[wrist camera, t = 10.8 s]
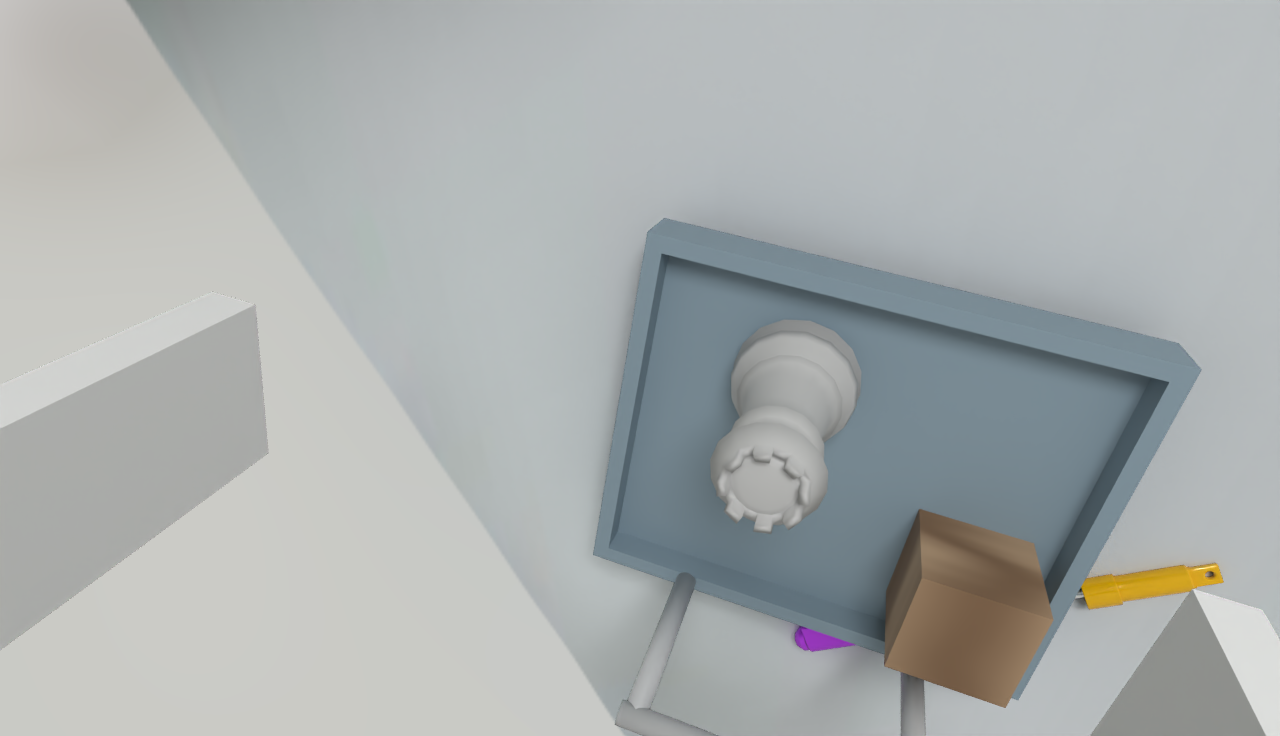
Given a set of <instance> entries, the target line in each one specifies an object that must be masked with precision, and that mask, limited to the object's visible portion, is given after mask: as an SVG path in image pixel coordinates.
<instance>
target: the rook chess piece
mask: <svg viewBox="0 0 1280 736" xmlns="http://www.w3.org/2000/svg"><path fill="white" fill-rule="evenodd" d="M860 389H861V369H860V367H859V364H858V362H857V359H856V357H855V354H854V352H853V349H852V348H851V347H850V346H849V345H848V344H847V343H846V342H845V341H844V340H843V339H842V338H841V337H840V336H839V335H838V334H837V333H836V332H835V331H833V330H831V329H828V328H826V327H824V326H821V325H819V324H817V323H814V322H812V321H805V320H781V321H778V322H775V323H773V324H770V325H767V326H764V327H761V328H760V329H758V330H757V331H756V332H755V333H754V334H753V335H752V336H750V337H749V338H748V339H747V340H746V341H745V342H744V343H743V344H742V346H741V349H740V351H739V353H738V355H737V358H736V360H735V362H734V368H733V371H732V373H731V397H732V401H733V403H734V406H735V408H736V410H737V412H738V415H739V417H740V418H739V419H738V420H737V421H735V423H734V425H733V428H732V430H731V432H729V433H728V434H727V435H726V436H724V437H723V438H722V439H721V440H720V441H718V443H717V446H716V448H715V450H714V452H713V454H712V456H711V459H710V469H711V480H712V483H713V485H714V487H715V489H716V497H718V496H719V497H720V498H721V499H722V500H723V501H724V502H725V503H726V506H725V509H724V512H725V513H726V514H727V515H728V516H729V517H730V518H731V519H732V520H733V521H734V522H735V523H736V524H737V523H738V521H739V520H740V519H741V518H742V516H743V517H745V518H747V519H749V520H752V521H754V522H755V526H754V530H753V532H759V533H767V534H771V533H772V529H773V525H783V524H784V525H785V526H786V528H787V529H788V530H790V529H791V528H793V527H794V526H796V525H797V524H798V523H800V522H801V521H802V519H804V518H805V517H806V516H808V515H809V514H811V513H812V512H814V511H815V510H817V509H818V507H819V505H820V503H821V502H822V500H823V498H824V496H825V495H826V493H827V486H828V470H827V467H826V465H825V463H824V442H826V441H827V440H828V439H830V438H831V437H832V436H834V435H835V434H836V433H838V432H839V431H840V430H842V429H843V428H844V427H845V426H846V424H847V422H848V421H849V419H850V417H851V415H852V413H853V412H854V410H855V408H856V406H857V400H858V398H859V396H860Z"/></svg>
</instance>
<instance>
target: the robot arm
mask: <svg viewBox="0 0 1280 736" xmlns="http://www.w3.org/2000/svg"><path fill="white" fill-rule="evenodd" d="M267 454H268V442H267V431H266V419H265V408H264V397H263V386H262V375H261V363H260V351H259V339H258V329H257V317H256V307H255V304H252V303H249V302H246V301H242V300H239V299H236V298H232V297H229V296H226V295H222V294H219V293H216V292H210V293H208V294H206V295H203V296H201V297H199V298H197V299H194V300H192V301H190V302H187V303H185V304H183V305H180V306H178V307H176V308H174V309H172V310H169V311H167V312H164V313H162V314H160V315H157V316H156V317H153V318H151V319H148V320H146V321H144V322H141V323H139V324H137V325H135V326H133V327H130V328H128V329H126V330H123V331H121V332H119V333H116V334H114V335H112V336H110V337H108V338H105V339H103V340H100V341H99V342H96V343H93V344H91V345H89V346H87V347H84V348H82V349H80V350H78V351H75V352H73V353H71V354H68V355H66V356H64V357H61V358H59V359H57V360H55V361H52V362H50V363H48V364H45V365H44V366H41V367H39V368H36V369H34V370H32V371H29V372H27V373H25V374H23V375H20V376H18V377H16V378H14V379H11V380H9V381H7V382H4V383H2V384H0V650H1V649H2V648H4V647H5V646H7V645H8V644H9V643H11V642H12V641H13V640H15V639H16V638H17V637H19V636H20V635H22V634H23V633H24V632H26V631H27V630H28V629H30V628H31V627H32V626H34V625H35V624H37V623H38V622H39V621H41V620H42V619H43V618H45V617H46V616H47V615H49V614H50V613H52V611H54V610H56V609H57V608H58V607H60V606H61V605H62V604H64V603H65V602H67V601H68V600H69V599H71V598H72V597H73V596H75V595H76V594H77V593H79V592H80V591H81V590H83V589H84V588H86V587H87V586H88V585H90V584H91V583H92V582H94V581H95V580H96V579H98V578H99V577H101V576H102V575H103V574H104V573H106V572H107V571H109V570H110V569H111V568H113V567H114V566H115V565H117V564H118V563H120V562H121V561H122V560H124V559H125V558H126V557H128V556H129V555H131V554H132V553H133V552H135V551H136V550H137V549H139V548H140V547H141V546H143V545H144V544H145V543H147V542H148V541H149V540H151V539H152V538H154V537H155V536H156V535H158V534H159V533H160V532H162V531H163V530H165V529H166V528H167V527H168V526H170V525H171V524H173V523H174V522H175V521H177V520H178V519H179V518H181V517H182V516H184V515H185V514H186V513H188V512H189V511H190V510H192V509H193V508H194V507H196V506H197V505H198V504H200V503H201V502H203V501H204V500H205V499H207V498H208V497H209V496H211V495H212V494H214V493H215V492H216V491H217V490H219V489H220V488H222V487H223V486H224V485H226V484H227V483H228V482H230V481H231V480H233V479H234V478H235V477H237V476H238V475H239V474H241V473H242V472H243V471H245V470H246V469H248V468H249V467H250V466H252V465H253V464H254V463H256V462H257V461H258V460H260V459H261V458H263V457H264V456H265V455H267ZM1091 736H1280V639H1279V637H1278V636H1277V634H1276V632H1275V631H1274V629H1273V627H1272V626H1271V624H1270V622H1269V621H1268V619H1267V617H1266V616H1265V614H1264V612H1263V611H1262V610H1261V609H1258V608H1255V607H1251V606H1248V605H1245V604H1241V603H1238V602H1235V601H1231V600H1228V599H1225V598H1222V597H1218V596H1215V595H1212V594H1208V593H1205V592H1202V591H1198V590H1195V589H1192V590H1191V591H1190V593H1189V594H1188V596H1187V597H1186V598H1185V600H1184V601H1183V603H1182V604H1181V606H1180V607H1179V608H1178V610H1177V611H1176V613H1175V614H1174V616H1173V617H1172V619H1171V620H1170V621H1169V623H1168V624H1167V626H1166V627H1165V629H1164V630H1163V632H1162V633H1161V634H1160V636H1159V637H1158V639H1157V640H1156V642H1155V643H1154V645H1153V646H1152V647H1151V649H1150V650H1149V652H1148V653H1147V655H1146V656H1145V658H1144V659H1143V660H1142V662H1141V663H1140V665H1139V666H1138V668H1137V669H1136V670H1135V672H1134V673H1133V675H1132V676H1131V678H1130V679H1129V681H1128V682H1127V683H1126V685H1125V686H1124V688H1123V689H1122V691H1121V692H1120V694H1119V695H1118V696H1117V698H1116V699H1115V701H1114V702H1113V704H1112V705H1111V707H1110V708H1109V709H1108V711H1107V712H1106V714H1105V715H1104V717H1103V718H1102V720H1101V721H1100V722H1099V724H1098V725H1097V727H1096V728H1095V730H1094V731H1093V732H1092V734H1091Z"/></svg>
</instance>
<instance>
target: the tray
mask: <svg viewBox="0 0 1280 736" xmlns="http://www.w3.org/2000/svg"><path fill="white" fill-rule="evenodd" d="M781 320H805V321H812V322H814V323H817V324H819V325H821V326H824V327H826V328H828V329H831V330H833V331H835V332H836V333H837V334H838V335H839V336H840V337H841V338H842V339H843V340H844V341H845V342H846V343H847V344H848V345H849V346H850V347H851V348H852V349H853V352H854V354H855V357H856V359H857V362H858V364H859V367H860V369H861V389H860V396H859V398H858V400H857V406H856V408H855V410H854V412H853V413H852V415H851V417H850V419H849V421H848V422H847V424H846V426H845V427H844V428H843V429H842V430H840V431H839V432H838V433H836V434H835V435H834V436H832V437H831V438H830V439H828V440H827V441H826V442H824V463H825V465H826V467H827V470H828V486H827V493H826V495H825V496H824V498H823V500H822V502H821V503H820V505H819V507H818V509H817V510H815V511H814V512H812V513H811V514H809V515H808V516H806V517H805V518H804V519H802V521H801V522H800V523H798V524H797V525H796V526H794V527H793V528H791V529H790V530H788V529H787V528H786V526H785V525H784V524H783V525H773V529H772V533H771V534H767V533H759V532H753V530H754V526H755V522H754V521H752V520H749V519H747V518H745V517H743V516H742V518H741V519H740V520H739V521H738V523H737V524H736V523H735V522H734V521H733V520H732V519H731V518H730V517H729V516H728V515H727V514H726V513H725V512H724V509H725V506H726V503H725V502H724V501H723V500H722V499H721V498H720V497H719V496H718V497H716V489H715V487H714V485H713V483H712V480H711V469H710V459H711V456H712V454H713V452H714V450H715V448H716V446H717V443H718V441H720V440H721V439H722V438H723V437H724V436H726V435H727V434H728V433H729V432H731V430H732V428H733V425H734V423H735V421H737V420H738V419H739V418H740V417H739V415H738V412H737V410H736V408H735V406H734V403H733V401H732V397H731V373H732V371H733V368H734V362H735V360H736V358H737V355H738V353H739V351H740V349H741V346H742V344H743V343H744V342H745V341H746V340H747V339H748V338H749V337H750V336H752V335H753V334H754V333H755V332H756V331H757V330H758V329H760V328H761V327H764V326H767V325H770V324H773V323H775V322H778V321H781ZM1200 372H1201V368H1200V367H1199V366H1198V365H1197V364H1196V363H1195V361H1194V360H1193V359H1192V358H1191V357H1190V356H1189V355H1188V353H1187V352H1186V351H1185V350H1184V349H1183V348H1182V347H1181V345H1180V344H1179V343H1175V342H1171V341H1167V340H1163V339H1159V338H1155V337H1151V336H1147V335H1142V334H1138V333H1134V332H1130V331H1126V330H1122V329H1118V328H1114V327H1110V326H1105V325H1101V324H1097V323H1093V322H1089V321H1085V320H1081V319H1077V318H1073V317H1069V316H1064V315H1060V314H1056V313H1052V312H1048V311H1044V310H1040V309H1036V308H1032V307H1027V306H1023V305H1019V304H1015V303H1011V302H1007V301H1003V300H999V299H995V298H991V297H986V296H982V295H978V294H974V293H970V292H966V291H962V290H958V289H954V288H949V287H945V286H941V285H937V284H933V283H929V282H925V281H921V280H917V279H913V278H908V277H904V276H900V275H896V274H892V273H888V272H884V271H880V270H876V269H871V268H867V267H863V266H859V265H855V264H851V263H847V262H843V261H839V260H835V259H830V258H826V257H822V256H818V255H814V254H810V253H806V252H802V251H798V250H793V249H789V248H785V247H781V246H777V245H773V244H769V243H765V242H761V241H757V240H752V239H748V238H744V237H740V236H736V235H732V234H728V233H724V232H720V231H715V230H711V229H707V228H703V227H699V226H695V225H691V224H687V223H683V222H679V221H674V220H670V219H666V218H664V219H663V220H661V221H660V222H659V223H658V224H657V225H655V226H654V227H653V228H652V229H650V230H649V231H648V232H647V238H646V244H645V250H644V256H643V261H642V267H641V273H640V279H639V285H638V291H637V297H636V303H635V309H634V315H633V321H632V327H631V333H630V339H629V345H628V351H627V356H626V362H625V368H624V374H623V380H622V386H621V392H620V398H619V404H618V410H617V416H616V422H615V428H614V434H613V440H612V446H611V451H610V457H609V463H608V469H607V475H606V481H605V487H604V493H603V499H602V505H601V511H600V517H599V523H598V529H597V535H596V540H595V546H594V552H593V555H595V556H598V557H601V558H604V559H607V560H610V561H613V562H616V563H619V564H622V565H624V566H627V567H630V568H633V569H636V570H639V571H642V572H645V573H648V574H651V575H654V576H657V577H660V578H662V579H665V580H668V581H671V582H674V585H673V588H672V590H671V593H670V595H669V598H668V600H667V603H666V605H665V608H664V610H663V613H662V615H661V618H660V620H659V623H658V625H657V627H656V630H655V632H654V635H653V637H652V640H651V642H650V645H649V647H648V650H647V652H646V655H645V657H644V660H643V662H642V665H641V667H640V670H639V672H638V675H637V677H636V680H635V682H634V685H633V687H632V690H631V692H630V695H629V697H628V700H627V701H626V700H622V703H621V705H620V708H619V711H618V714H617V717H616V721H615V725H617V726H619V727H622V728H624V729H627V730H629V731H632V732H635V733H637V734H640V735H642V736H718V735H716V734H713V733H710V732H708V731H705V730H702V729H700V728H697V727H695V726H692V725H689V724H687V723H684V722H681V721H679V720H676V719H673V718H671V717H668V716H666V715H663V714H660V713H658V712H655V711H652V710H650V708H651V705H652V702H653V700H654V697H655V694H656V691H657V689H658V686H659V683H660V680H661V678H662V675H663V672H664V669H665V667H666V664H667V661H668V658H669V656H670V653H671V650H672V647H673V645H674V642H675V639H676V636H677V634H678V631H679V628H680V625H681V623H682V620H683V617H684V614H685V612H686V609H687V606H688V603H689V601H690V598H691V595H692V592H693V590H694V589H695V590H697V591H700V592H703V593H706V594H709V595H712V596H715V597H718V598H721V599H724V600H727V601H730V602H733V603H735V604H738V605H741V606H744V607H747V608H750V609H753V610H756V611H759V612H762V613H765V614H768V615H771V616H773V617H776V618H779V619H782V620H785V621H788V622H791V623H794V624H797V625H800V626H803V627H806V628H808V629H811V630H814V631H817V632H820V633H823V634H826V635H829V636H832V637H835V638H838V639H841V640H844V641H846V642H849V643H852V644H855V645H858V646H861V647H864V648H867V649H870V650H873V651H876V652H879V653H882V654H884V655H885V618H886V590H887V587H888V585H889V582H890V580H891V577H892V575H893V573H894V570H895V568H896V565H897V563H898V560H899V558H900V555H901V553H902V550H903V548H904V545H905V543H906V540H907V538H908V535H909V533H910V530H911V528H912V525H913V523H914V521H915V518H916V516H917V513H918V511H919V509H922V510H925V511H929V512H932V513H935V514H939V515H942V516H945V517H949V518H952V519H955V520H958V521H962V522H965V523H968V524H972V525H975V526H978V527H982V528H985V529H988V530H992V531H995V532H998V533H1002V534H1005V535H1008V536H1011V537H1015V538H1018V539H1021V540H1025V541H1028V542H1031V543H1034V546H1035V550H1036V553H1037V557H1038V561H1039V565H1040V569H1041V573H1042V577H1043V581H1044V585H1045V588H1046V592H1047V596H1048V600H1049V604H1050V608H1051V612H1052V616H1053V619H1054V620H1053V622H1052V624H1051V626H1050V628H1049V629H1048V631H1047V633H1046V635H1045V637H1044V639H1043V640H1042V642H1041V644H1040V646H1039V648H1038V649H1037V651H1036V653H1035V655H1034V657H1033V659H1032V660H1031V662H1030V664H1029V666H1028V668H1027V670H1026V671H1025V673H1024V675H1023V677H1022V679H1021V681H1020V682H1019V684H1018V686H1017V688H1016V690H1015V691H1014V693H1013V695H1012V697H1011V698H1013V699H1016V700H1019V698H1020V696H1021V694H1022V692H1023V691H1024V689H1025V687H1026V685H1027V683H1028V682H1029V680H1030V678H1031V676H1032V674H1033V673H1034V671H1035V669H1036V667H1037V665H1038V664H1039V662H1040V660H1041V658H1042V656H1043V655H1044V653H1045V651H1046V649H1047V647H1048V646H1049V644H1050V642H1051V640H1052V638H1053V637H1054V635H1055V633H1056V631H1057V629H1058V628H1059V626H1060V624H1061V622H1062V620H1063V619H1064V617H1065V615H1066V613H1067V611H1068V610H1069V608H1070V606H1071V604H1072V602H1073V601H1074V599H1075V597H1076V595H1077V593H1078V592H1079V590H1080V588H1081V586H1082V584H1083V583H1084V581H1085V579H1086V577H1087V575H1088V574H1089V572H1090V570H1091V568H1092V566H1093V565H1094V563H1095V561H1096V559H1097V557H1098V556H1099V554H1100V552H1101V550H1102V548H1103V547H1104V545H1105V543H1106V541H1107V539H1108V538H1109V536H1110V534H1111V532H1112V530H1113V529H1114V527H1115V525H1116V523H1117V521H1118V520H1119V518H1120V516H1121V514H1122V512H1123V511H1124V509H1125V507H1126V505H1127V503H1128V502H1129V500H1130V498H1131V496H1132V494H1133V493H1134V491H1135V489H1136V487H1137V485H1138V484H1139V482H1140V480H1141V478H1142V476H1143V475H1144V473H1145V471H1146V469H1147V467H1148V466H1149V464H1150V462H1151V460H1152V458H1153V457H1154V455H1155V453H1156V451H1157V449H1158V448H1159V446H1160V444H1161V442H1162V440H1163V439H1164V437H1165V435H1166V433H1167V431H1168V430H1169V428H1170V426H1171V424H1172V422H1173V421H1174V419H1175V417H1176V415H1177V413H1178V412H1179V410H1180V408H1181V406H1182V404H1183V403H1184V401H1185V399H1186V397H1187V395H1188V394H1189V392H1190V390H1191V388H1192V386H1193V385H1194V383H1195V381H1196V379H1197V377H1198V376H1199V374H1200ZM901 736H926V727H925V699H924V680H923V679H920V678H917V677H914V676H911V675H908V674H905V673H903V672H901Z"/></svg>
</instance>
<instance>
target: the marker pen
mask: <svg viewBox="0 0 1280 736" xmlns="http://www.w3.org/2000/svg"><path fill="white" fill-rule="evenodd" d="M1208 571H1211V572H1213V573H1214V574H1213V576H1211V577H1206V576H1205V573H1206V572H1208ZM1223 582H1224V581H1223V578H1222V575H1221V572H1220V569H1219V566H1218V565H1217V564H1216V563H1212V564H1206V565H1200V566H1194V567H1186V566H1185V565H1179V566H1173V567H1167V568H1161V569H1155V570H1148V571H1142V572H1136V573H1130V574H1124V575H1118V576H1113V575H1112V574H1110V575H1104V576H1098V577H1091V578H1086V579H1085V581H1084V583H1083V584H1082V586H1081V589H1082V592H1078V593H1077V595H1076V597H1075V599H1076V598H1082V597H1085V600H1086V603H1087V606H1088V609H1089V610H1091V609H1097V608H1104V607H1111V606H1117V605H1123V602H1126V601H1133V600H1139V599H1146V598H1152V597H1159V596H1166V595H1172V594H1179V593H1185V592H1190V591H1191V590H1192V589H1195V588H1197V587H1199V586H1205V585H1212V584H1218V583H1223ZM795 641H796V643H797V645H798V646H799V647H800V648H802V649H803V650H810V651H812V652H813V651H820V650H826V649H833V648H840V647H846V646H853V645H855V644H852V643H849V642H846V641H844V640H841V639H838V638H835V637H832V636H829V635H826V634H823V633H820V632H817V631H814V630H811V629H808V628H806V627H803V626H802V627H800V628H799V629H798V630H797V632H796V633H795Z"/></svg>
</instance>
